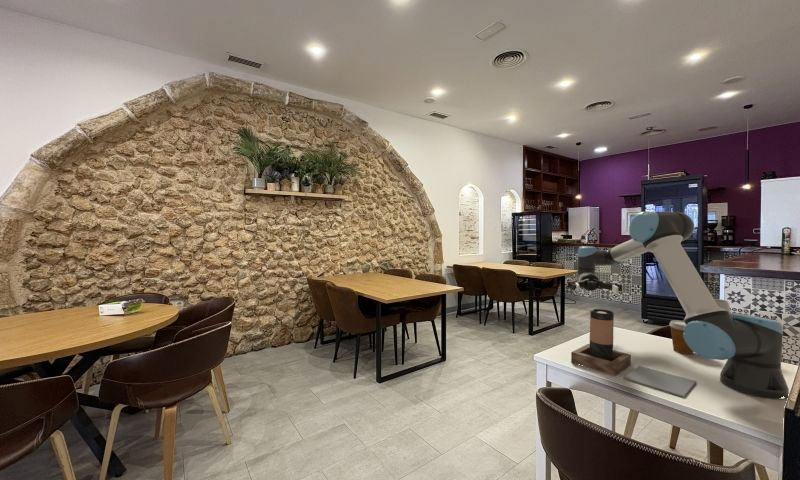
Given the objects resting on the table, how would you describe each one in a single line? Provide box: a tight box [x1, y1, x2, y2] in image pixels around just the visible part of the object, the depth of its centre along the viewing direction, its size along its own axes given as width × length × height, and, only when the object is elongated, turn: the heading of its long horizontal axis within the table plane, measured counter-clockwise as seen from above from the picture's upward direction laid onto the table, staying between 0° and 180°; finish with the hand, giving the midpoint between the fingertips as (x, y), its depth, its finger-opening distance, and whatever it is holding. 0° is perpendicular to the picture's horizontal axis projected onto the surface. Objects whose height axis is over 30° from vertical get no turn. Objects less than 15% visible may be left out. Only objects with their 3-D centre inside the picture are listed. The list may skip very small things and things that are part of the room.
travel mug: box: [589, 308, 615, 361], centre depth 126 cm, size 8×8×20 cm
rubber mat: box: [622, 365, 697, 399], centre depth 112 cm, size 16×16×1 cm
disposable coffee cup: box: [668, 319, 694, 355], centre depth 138 cm, size 10×10×12 cm
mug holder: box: [570, 343, 632, 377], centre depth 126 cm, size 15×15×4 cm
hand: (597, 289), depth 134 cm, fingers open, 13 cm apart
